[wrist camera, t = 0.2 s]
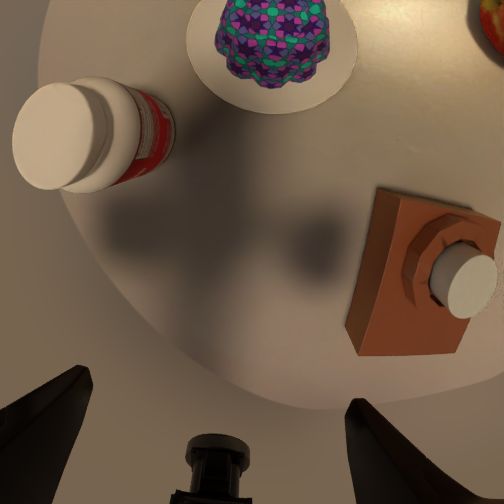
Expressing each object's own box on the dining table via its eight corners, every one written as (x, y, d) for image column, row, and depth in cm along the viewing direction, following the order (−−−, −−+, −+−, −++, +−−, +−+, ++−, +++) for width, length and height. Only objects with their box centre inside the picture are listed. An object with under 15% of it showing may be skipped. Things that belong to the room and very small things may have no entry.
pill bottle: (97, 172, 21) (-1, 201, 11) (106, 94, 19) (9, 74, 9) (171, 179, 22) (103, 215, 11) (183, 96, 20) (121, 60, 9)
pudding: (183, 113, 20) (161, 105, 15) (195, -25, 16) (182, -60, 11) (352, 123, 20) (380, 119, 15) (352, -14, 16) (374, -45, 11)
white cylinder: (465, 301, 19) (484, 318, 16) (421, 299, 19) (438, 318, 16) (484, 245, 17) (505, 258, 15) (439, 237, 17) (461, 251, 15)
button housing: (435, 328, 26) (464, 365, 20) (344, 326, 26) (364, 371, 20) (472, 209, 22) (515, 228, 16) (377, 188, 22) (413, 204, 16)
